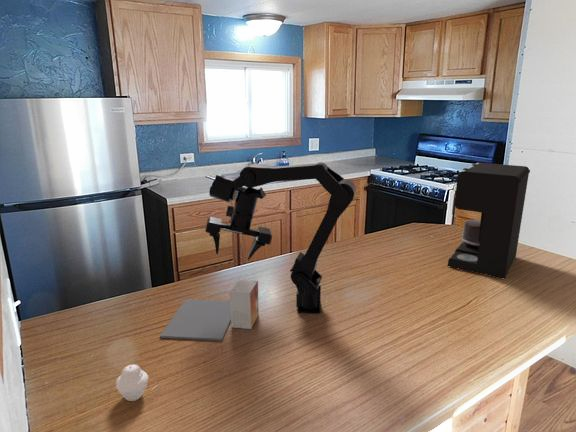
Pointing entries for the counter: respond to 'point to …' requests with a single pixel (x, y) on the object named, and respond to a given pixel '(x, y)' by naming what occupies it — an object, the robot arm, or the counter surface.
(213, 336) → the mat
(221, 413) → the counter surface
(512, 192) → the coffee maker
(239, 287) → the small box
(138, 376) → the muffin
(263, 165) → the robot arm
